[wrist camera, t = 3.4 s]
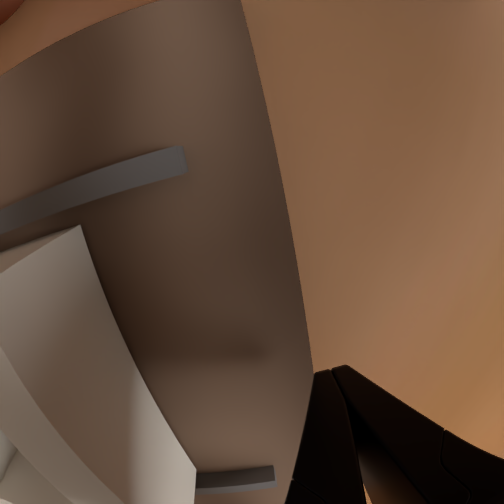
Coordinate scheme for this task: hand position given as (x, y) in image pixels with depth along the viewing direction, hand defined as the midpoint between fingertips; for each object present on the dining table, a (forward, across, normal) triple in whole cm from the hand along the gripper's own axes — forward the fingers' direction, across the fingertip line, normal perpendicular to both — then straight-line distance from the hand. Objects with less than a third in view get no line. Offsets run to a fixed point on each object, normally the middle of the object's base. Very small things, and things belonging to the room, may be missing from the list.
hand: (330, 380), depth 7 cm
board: (+2, +12, +1) cm, 13 cm away
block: (+1, +10, 0) cm, 10 cm away
